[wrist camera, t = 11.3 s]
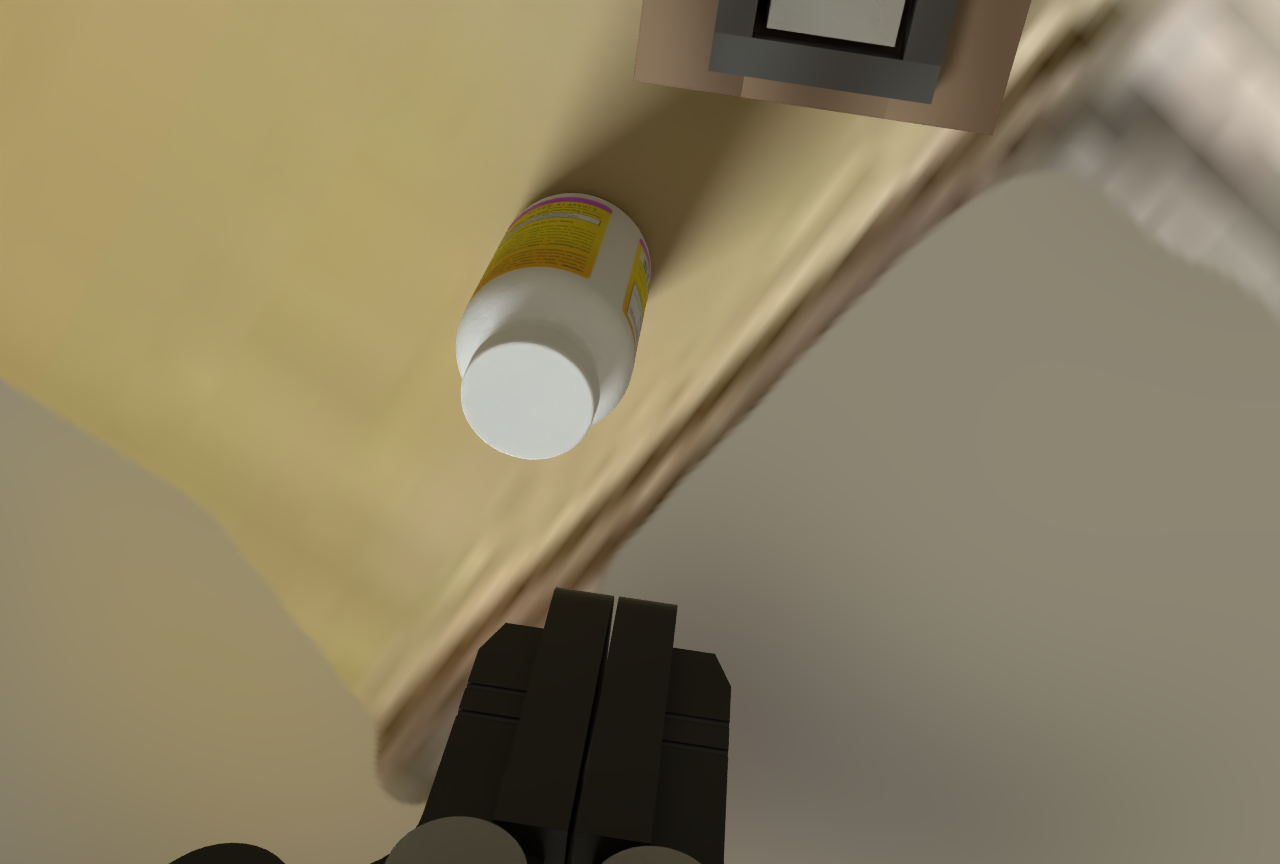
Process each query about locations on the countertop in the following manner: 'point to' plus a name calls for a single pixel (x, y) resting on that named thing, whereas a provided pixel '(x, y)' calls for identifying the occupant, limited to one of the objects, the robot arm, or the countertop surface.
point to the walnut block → (841, 59)
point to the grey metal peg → (838, 18)
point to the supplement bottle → (553, 326)
